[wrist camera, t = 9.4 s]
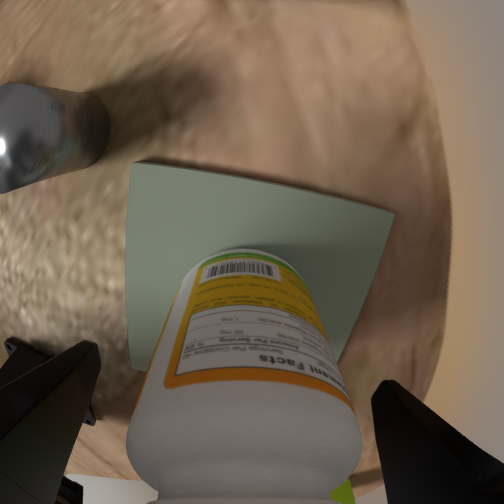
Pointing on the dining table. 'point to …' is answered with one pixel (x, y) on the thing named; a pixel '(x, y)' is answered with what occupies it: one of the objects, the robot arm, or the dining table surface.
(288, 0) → the dining table surface
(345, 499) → the soap dispenser
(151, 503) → the supplement bottle
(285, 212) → the mat
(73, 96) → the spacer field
